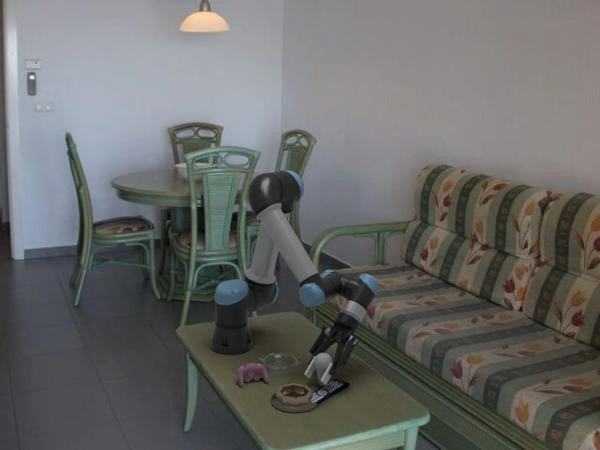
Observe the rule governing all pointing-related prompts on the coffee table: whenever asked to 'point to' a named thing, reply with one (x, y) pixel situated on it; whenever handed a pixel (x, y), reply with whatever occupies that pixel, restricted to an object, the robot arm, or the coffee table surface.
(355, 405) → the coffee table surface
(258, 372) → the video game controller
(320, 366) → the lightbulb
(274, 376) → the coffee table surface
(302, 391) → the socket
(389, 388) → the coffee table surface
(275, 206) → the robot arm
